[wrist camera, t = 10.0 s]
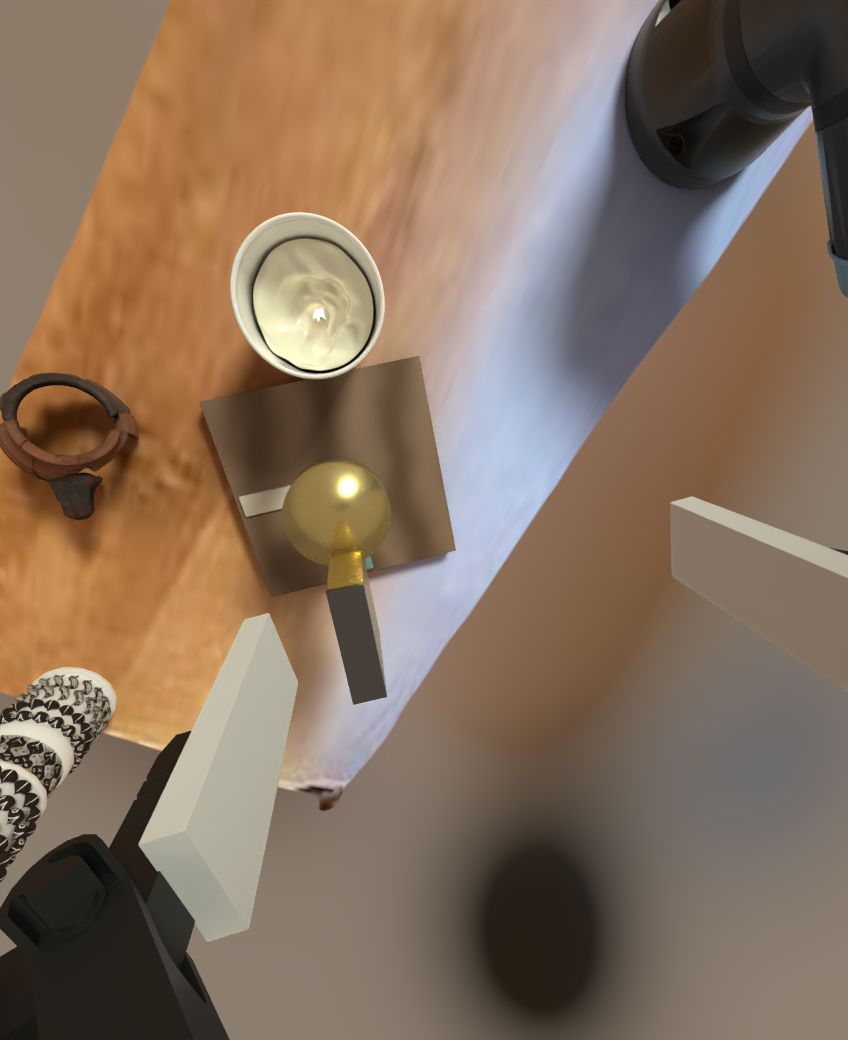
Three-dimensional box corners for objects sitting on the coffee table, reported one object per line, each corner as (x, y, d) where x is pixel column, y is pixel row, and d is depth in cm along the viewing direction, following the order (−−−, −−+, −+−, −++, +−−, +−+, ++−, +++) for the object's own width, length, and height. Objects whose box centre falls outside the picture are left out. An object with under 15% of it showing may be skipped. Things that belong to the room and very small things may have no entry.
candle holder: (342, 399, 41) (339, 407, 30) (244, 339, 39) (202, 323, 27) (394, 305, 40) (412, 277, 28) (296, 235, 37) (274, 173, 25)
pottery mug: (-4, 397, 37) (-38, 364, 30) (125, 390, 42) (120, 359, 35) (38, 531, 38) (13, 528, 31) (158, 508, 43) (160, 501, 36)
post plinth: (415, 356, 41) (435, 350, 32) (451, 543, 48) (476, 583, 39) (206, 400, 40) (161, 408, 30) (274, 588, 46) (255, 641, 37)
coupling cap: (274, 467, 32) (251, 495, 25) (379, 449, 33) (388, 472, 25) (320, 644, 38) (313, 713, 30) (409, 625, 39) (425, 688, 31)
